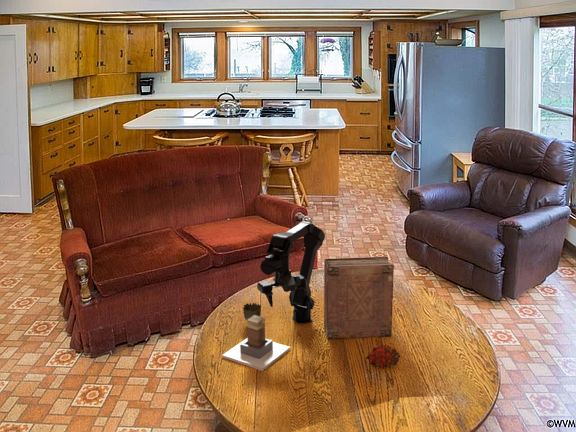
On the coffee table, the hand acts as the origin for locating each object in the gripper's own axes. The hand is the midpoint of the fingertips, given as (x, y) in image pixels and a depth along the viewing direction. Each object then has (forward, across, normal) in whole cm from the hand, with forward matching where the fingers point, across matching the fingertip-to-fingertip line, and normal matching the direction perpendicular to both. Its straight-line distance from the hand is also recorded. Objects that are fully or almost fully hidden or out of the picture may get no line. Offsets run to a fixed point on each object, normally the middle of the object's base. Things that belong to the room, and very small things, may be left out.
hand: (282, 304), depth 228 cm
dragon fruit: (+13, +21, -38) cm, 45 cm away
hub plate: (+13, -15, -9) cm, 22 cm away
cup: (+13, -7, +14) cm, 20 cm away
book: (+13, +27, -12) cm, 32 cm away
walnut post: (+12, -15, -9) cm, 21 cm away
